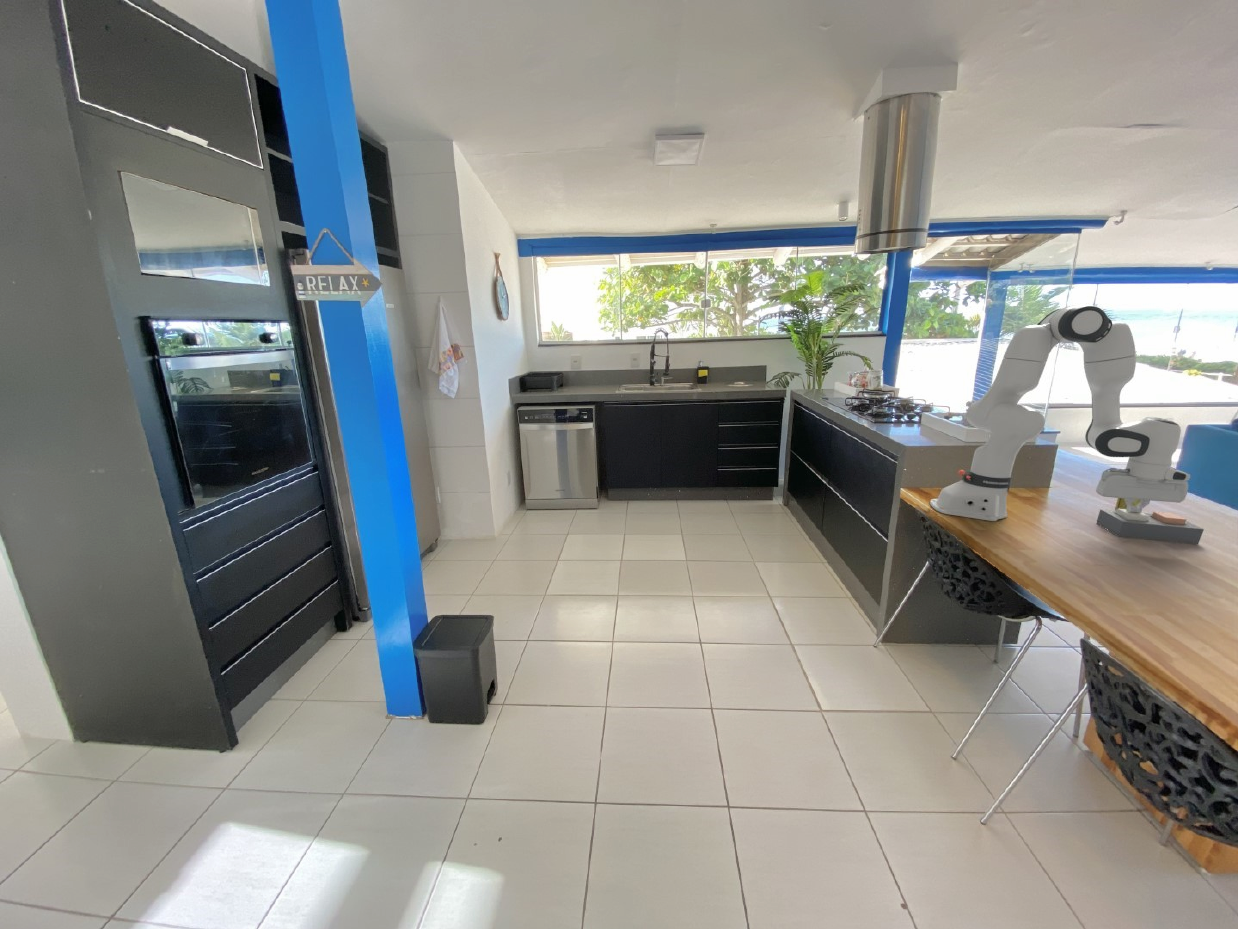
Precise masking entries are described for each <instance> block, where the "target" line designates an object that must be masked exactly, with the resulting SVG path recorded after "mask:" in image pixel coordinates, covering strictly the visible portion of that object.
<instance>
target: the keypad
mask: <svg viewBox="0 0 1238 929" xmlns="http://www.w3.org/2000/svg"><path fill="white" fill-rule="evenodd" d="M1116 512H1117V511H1116V510H1115V509H1103V508H1100V510H1099V512H1098V516H1097V519H1096V522H1097V523H1098V524H1097V523H1096V524H1097V525H1099V526H1100V525H1101V527H1102V528H1104V529H1105V528H1106V529H1105V530H1107V529H1108V530H1107V531H1109V532H1111V533H1112V534H1114V535H1115V534H1116V535H1115V536H1117V537H1120V538H1121V537H1122V538H1130V539H1138V540H1139V539H1141V540H1148V541H1149V540H1150V541H1161V542H1168V543H1170V542H1171V543H1178V544H1179V543H1180V544H1192V545H1199V543H1200V542H1201V537H1202V535H1203V533H1204V530H1205V529H1204V528H1203V527H1200V526H1198V525H1196V524H1193V523H1191V522H1189V521H1187V520H1186V523H1185V525H1181V524H1170V523H1162V522H1160V521H1158V520H1156V519H1154V518H1152V514H1153V513H1148V512H1143V513H1144V514H1146V515H1148V516H1149V517H1148V520H1147V521H1138V520H1127V519H1124V518H1122V517H1120V516H1119V515H1117V514H1116Z"/></svg>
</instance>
